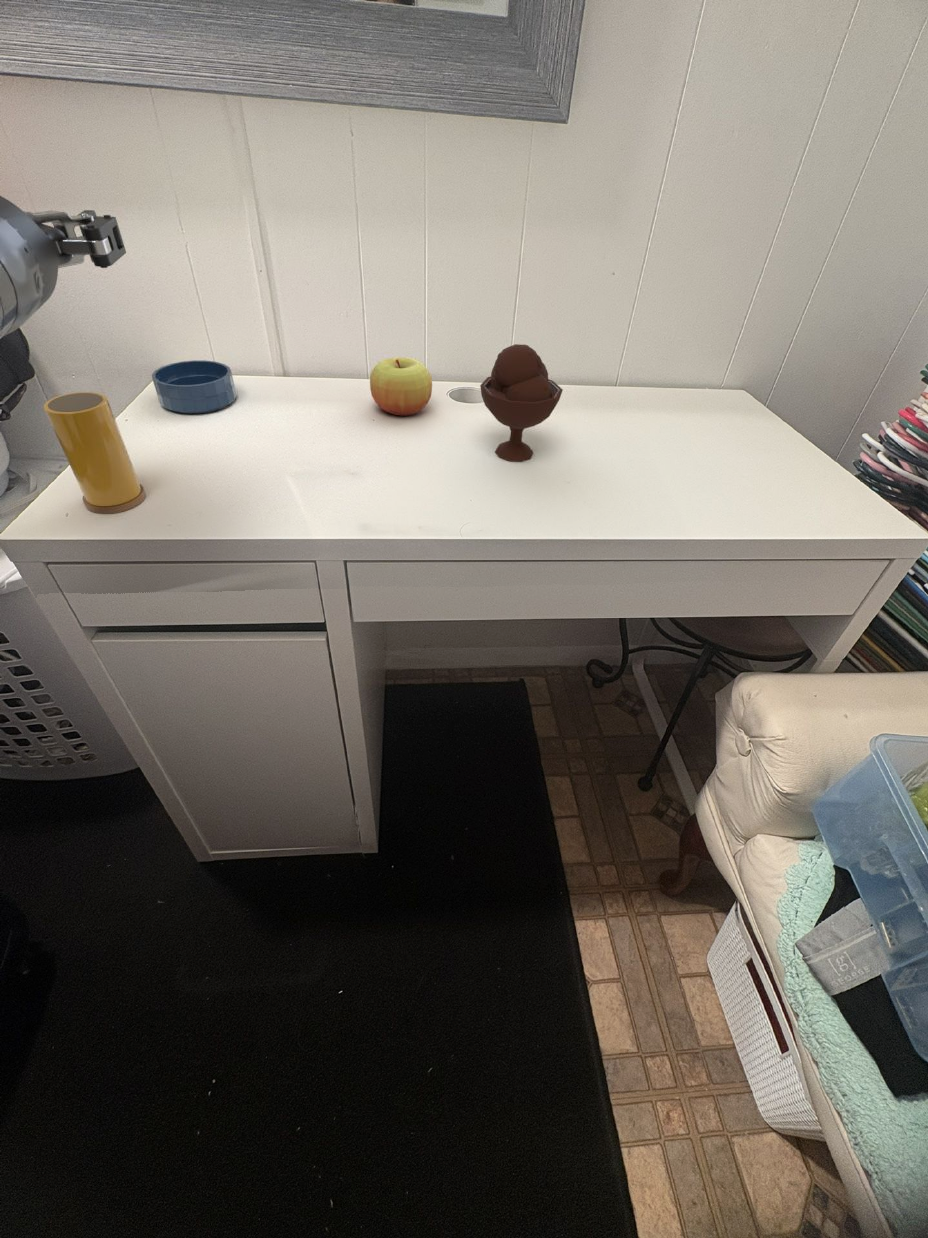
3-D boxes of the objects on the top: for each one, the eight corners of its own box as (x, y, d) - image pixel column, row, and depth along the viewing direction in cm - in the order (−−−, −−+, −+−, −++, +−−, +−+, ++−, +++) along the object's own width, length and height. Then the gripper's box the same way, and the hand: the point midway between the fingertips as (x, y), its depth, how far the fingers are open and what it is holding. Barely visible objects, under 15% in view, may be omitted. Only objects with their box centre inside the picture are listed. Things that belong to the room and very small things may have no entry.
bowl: (163, 420, 85) (154, 389, 82) (158, 392, 93) (149, 364, 90) (242, 410, 89) (235, 381, 86) (231, 384, 97) (225, 357, 94)
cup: (84, 510, 65) (41, 416, 57) (86, 486, 69) (45, 394, 61) (142, 501, 67) (107, 409, 59) (140, 477, 71) (107, 388, 63)
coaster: (84, 518, 65) (81, 512, 65) (85, 491, 69) (82, 485, 69) (147, 507, 67) (145, 501, 67) (144, 482, 72) (142, 476, 71)
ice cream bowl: (555, 472, 79) (575, 359, 69) (475, 468, 78) (483, 354, 68) (549, 439, 86) (565, 333, 76) (476, 435, 86) (482, 328, 76)
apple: (366, 419, 89) (362, 366, 83) (376, 396, 96) (373, 346, 90) (429, 423, 89) (429, 370, 83) (434, 399, 96) (434, 349, 90)
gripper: (69, 196, 36) (115, 170, 47) (-206, 190, 33) (-86, 164, 44) (113, 324, 41) (145, 273, 52) (-122, 330, 38) (-33, 274, 49)
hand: (39, 223), depth 48 cm, fingers open, 8 cm apart
